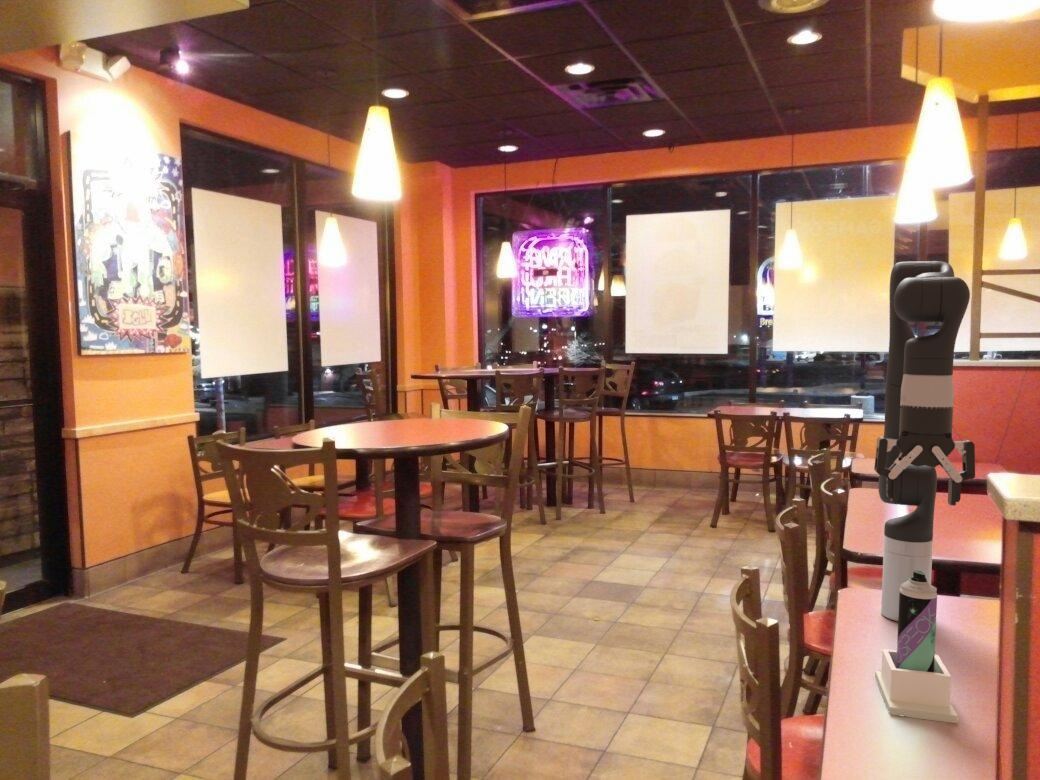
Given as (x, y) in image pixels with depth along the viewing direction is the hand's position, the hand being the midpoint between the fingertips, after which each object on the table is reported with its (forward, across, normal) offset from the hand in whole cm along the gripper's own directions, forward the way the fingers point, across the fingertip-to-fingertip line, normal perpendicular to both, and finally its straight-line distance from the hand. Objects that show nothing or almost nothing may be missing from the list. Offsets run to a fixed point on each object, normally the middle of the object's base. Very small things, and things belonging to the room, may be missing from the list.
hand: (922, 502), depth 126 cm
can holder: (+33, 0, 0) cm, 33 cm away
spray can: (+32, 0, 0) cm, 32 cm away
